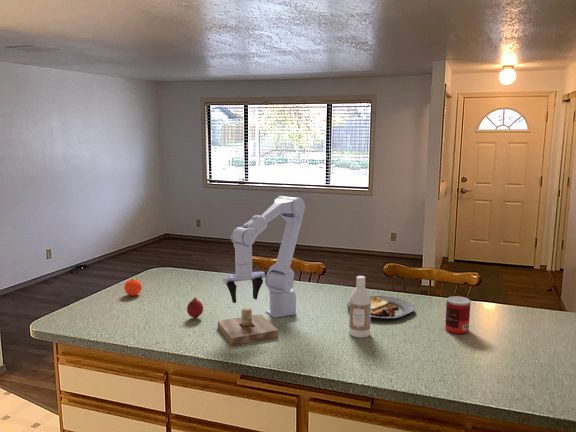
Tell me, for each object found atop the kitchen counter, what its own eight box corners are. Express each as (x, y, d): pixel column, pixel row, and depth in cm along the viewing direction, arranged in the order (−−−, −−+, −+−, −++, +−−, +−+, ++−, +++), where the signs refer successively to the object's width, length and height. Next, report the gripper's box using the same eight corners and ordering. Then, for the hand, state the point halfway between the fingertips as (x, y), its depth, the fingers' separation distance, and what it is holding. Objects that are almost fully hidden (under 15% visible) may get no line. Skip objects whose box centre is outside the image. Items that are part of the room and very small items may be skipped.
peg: (249, 329, 173) (249, 307, 172) (253, 333, 170) (253, 310, 169) (240, 331, 172) (239, 309, 170) (244, 334, 169) (244, 312, 167)
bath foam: (347, 336, 167) (348, 279, 163) (351, 329, 173) (352, 273, 170) (368, 339, 165) (369, 280, 161) (371, 331, 171) (372, 274, 168)
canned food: (468, 327, 175) (470, 297, 173) (468, 336, 167) (470, 304, 165) (445, 324, 177) (447, 294, 175) (444, 333, 170) (446, 302, 168)
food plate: (383, 327, 174) (384, 317, 174) (334, 310, 192) (335, 301, 191) (424, 312, 191) (425, 303, 190) (376, 297, 208) (376, 289, 207)
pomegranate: (199, 322, 180) (199, 300, 179) (184, 320, 181) (184, 299, 180) (205, 316, 186) (205, 295, 185) (191, 315, 187) (190, 294, 186)
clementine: (130, 291, 215) (129, 275, 213) (145, 292, 214) (145, 276, 212) (121, 297, 207) (120, 280, 206) (137, 298, 206) (136, 281, 205)
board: (260, 320, 181) (260, 314, 181) (278, 337, 167) (278, 330, 166) (217, 327, 175) (217, 321, 174) (231, 345, 160) (231, 338, 160)
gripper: (259, 257, 178) (259, 293, 180) (219, 262, 172) (221, 300, 174) (266, 261, 171) (267, 299, 174) (226, 267, 165) (227, 306, 168)
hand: (244, 300), depth 174 cm, fingers open, 7 cm apart
